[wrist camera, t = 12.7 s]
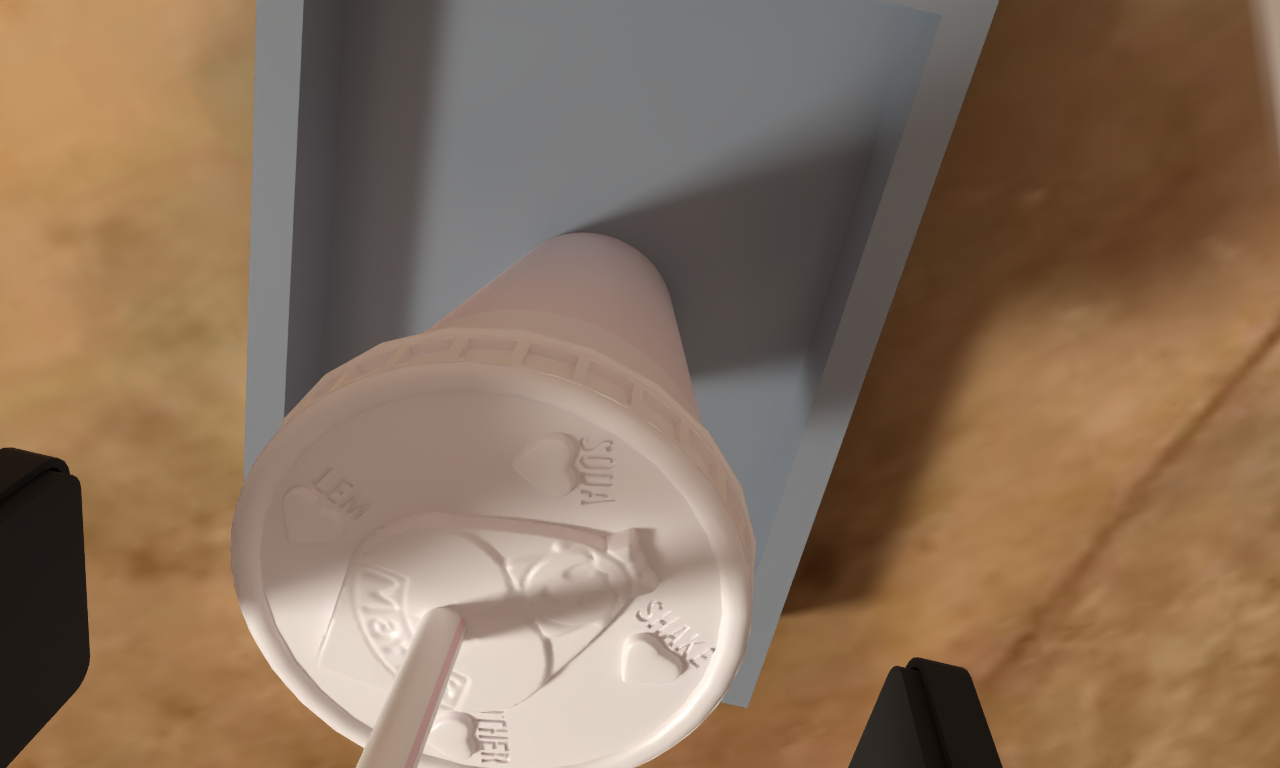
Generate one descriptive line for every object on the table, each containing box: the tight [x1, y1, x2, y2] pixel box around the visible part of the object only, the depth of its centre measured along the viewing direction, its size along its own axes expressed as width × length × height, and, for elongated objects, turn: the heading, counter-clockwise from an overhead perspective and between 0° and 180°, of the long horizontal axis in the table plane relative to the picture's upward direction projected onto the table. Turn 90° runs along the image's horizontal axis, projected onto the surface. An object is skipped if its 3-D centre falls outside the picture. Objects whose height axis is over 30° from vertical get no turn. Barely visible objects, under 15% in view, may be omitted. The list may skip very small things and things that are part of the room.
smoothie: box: [230, 232, 756, 768], centre depth 13 cm, size 6×6×14 cm
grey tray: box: [244, 0, 999, 708], centre depth 19 cm, size 12×16×3 cm
